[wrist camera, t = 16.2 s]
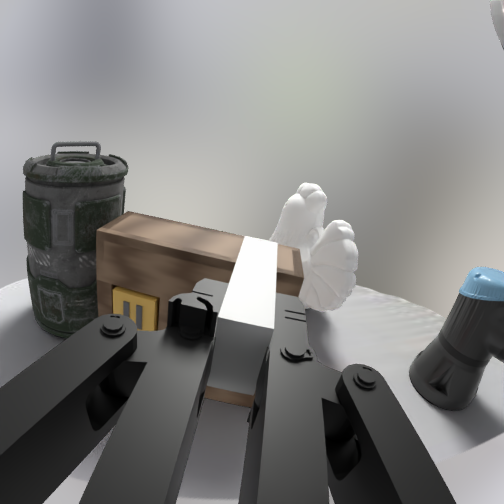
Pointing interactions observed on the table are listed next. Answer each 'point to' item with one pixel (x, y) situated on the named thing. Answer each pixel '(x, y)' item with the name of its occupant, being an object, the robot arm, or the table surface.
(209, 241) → the console
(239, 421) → the table surface
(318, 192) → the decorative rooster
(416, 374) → the robot arm
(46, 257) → the canister
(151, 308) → the button two
